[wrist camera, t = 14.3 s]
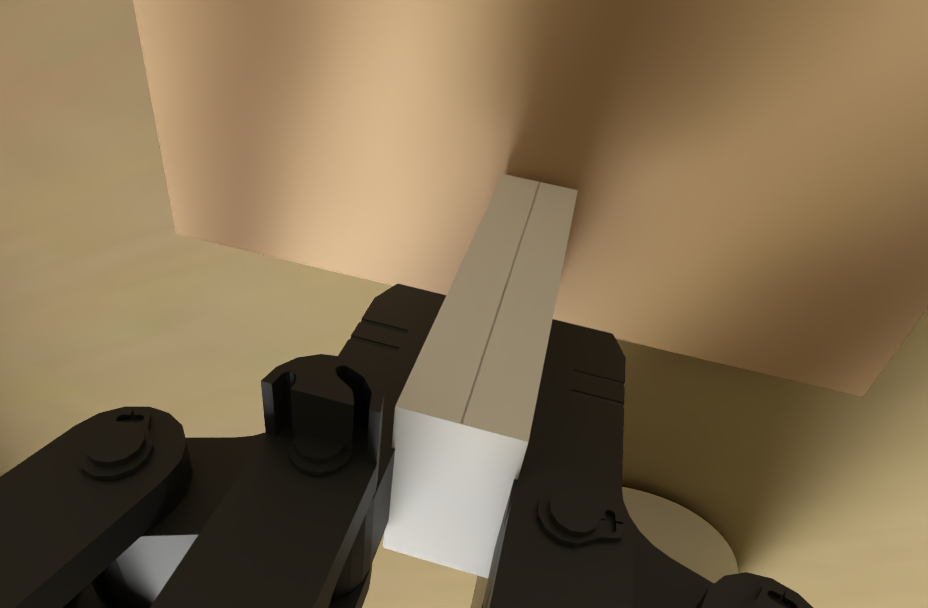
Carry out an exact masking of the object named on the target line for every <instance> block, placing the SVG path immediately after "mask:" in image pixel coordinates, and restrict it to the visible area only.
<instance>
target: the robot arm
mask: <svg viewBox="0 0 928 608" xmlns="http://www.w3.org/2000/svg"><path fill="white" fill-rule="evenodd" d="M577 192H578V190H575V189H570V188H565V187H561V186H556V185H552V184H547V183H542V182H538V181H533V180H529V179H524V178H520V177H515V176H510V175H506V174H502V176H501V178H500V181H499V183H498V185H497V187H496V189H495V191H494V194H493V196H492V198H491V200H490V202H489V204H488V207H487V209H486V211H485V213H484V215H483V217H482V219H481V222H480V224H479V226H478V228H477V230H476V232H475V235H474V237H473V239H472V241H471V243H470V245H469V248H468V250H467V252H466V254H465V256H464V258H463V261H462V263H461V265H460V267H459V269H458V271H457V274H456V276H455V278H454V280H453V282H452V284H451V287H450V289H449V291H448V293H447V295H443V294H439V293H435V292H431V291H427V290H423V289H419V288H415V287H410V286H406V285H402V284H396V285H395V286H393V287H391V288H390V289H388V290H387V291H385V292H383V293H382V294H380V295H379V296H377V297H375V298H374V300H373V301H372V303H371V305H370V306H369V308H368V309H367V311H366V313H365V314H364V316H363V317H362V321H361V323H360V322H359V324H358V325H357V327H356V328H355V330H354V332H353V333H352V335H351V339H350V340H348V341H347V343H346V344H345V346H344V347H343V349H342V351H341V352H340V354H339V355H338V356H332V355H324V354H320V355H312V356H305V357H298V358H296V359H293V360H291V361H289V362H286V363H284V364H282V365H280V366H277V367H276V368H275V369H274V370H272V371H271V372H270V373H269V374H268V375H267V376H266V377H265V378H264V379H262V380H261V387H262V397H263V408H264V419H265V429H266V433H262V434H258V435H255V436H247V437H236V438H185V434H184V431H183V427H182V425H181V424H180V423H179V422H178V421H177V420H176V419H175V418H174V417H173V416H172V415H171V414H169V413H167V412H164V411H161V410H158V409H155V408H151V407H122V408H118V409H114V410H110V411H106V412H102V413H99V414H97V415H95V416H93V417H91V418H89V419H87V420H85V421H83V422H81V423H79V424H77V425H75V426H74V427H72V428H71V429H70V430H68V431H67V432H65V433H64V434H62V435H61V436H59V437H58V438H56V439H55V440H54V441H52V442H51V443H49V444H48V445H46V446H45V447H43V448H42V449H40V450H39V451H37V452H36V453H35V454H33V455H32V456H30V457H29V458H27V459H26V460H24V461H23V462H21V463H20V464H18V465H17V466H16V467H14V468H13V469H11V470H10V471H8V472H7V473H5V474H4V475H2V476H1V477H0V608H362V606H363V603H364V600H365V598H366V595H367V592H368V590H369V584H370V578H371V572H372V562H373V559H374V557H375V554H376V552H377V549H378V546H379V544H380V541H381V539H382V536H383V534H384V541H383V548H386V549H389V550H393V551H396V552H400V553H403V554H406V555H410V556H413V557H417V558H420V559H423V560H427V561H430V562H434V563H437V564H440V565H444V566H447V567H451V568H454V569H457V570H461V571H464V572H468V573H471V574H474V575H478V576H481V577H484V578H488V581H487V586H486V590H485V595H484V600H483V604H482V607H481V608H813V607H812V606H811V605H810V604H809V603H808V602H807V601H805V600H804V599H803V598H802V597H801V596H800V595H799V594H798V593H796V592H794V591H793V590H791V589H789V588H787V587H786V586H784V585H782V584H780V583H779V582H777V581H775V580H773V579H771V578H767V577H763V576H759V575H755V574H751V573H747V572H746V573H739V574H732V575H725V576H723V577H722V578H721V579H719V580H718V581H717V582H716V583H712V582H711V581H709V580H707V579H706V578H704V577H702V576H701V575H699V574H697V573H696V572H694V571H692V570H691V569H689V568H687V567H685V566H684V565H682V564H680V563H679V562H677V561H675V560H674V559H672V558H670V557H669V556H668V555H666V554H665V553H663V552H662V551H661V550H659V549H658V548H657V547H655V546H654V545H653V544H652V543H651V542H650V541H649V540H648V539H647V538H646V537H645V536H644V535H643V534H642V533H641V532H640V531H639V529H638V528H637V526H636V525H635V523H634V522H633V520H632V519H631V517H630V516H629V513H628V511H627V508H626V506H625V503H624V501H623V492H622V459H623V425H624V408H623V405H624V391H625V387H624V383H625V356H624V354H623V352H622V350H621V348H620V346H619V344H618V343H617V341H616V339H615V337H614V335H613V334H612V333H608V332H604V331H600V330H596V329H592V328H588V327H584V326H580V325H575V324H571V323H567V322H563V321H559V320H555V319H553V314H554V309H555V304H556V299H557V294H558V289H559V284H560V279H561V274H562V269H563V263H564V258H565V253H566V248H567V243H568V238H569V233H570V228H571V223H572V218H573V213H574V207H575V202H576V197H577Z"/></svg>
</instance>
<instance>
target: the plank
mask: <svg viewBox="0 0 928 608" xmlns="http://www.w3.org/2000/svg"><path fill="white" fill-rule="evenodd" d="M133 4H134V9H135V14H136V20H137V25H138V31H139V36H140V42H141V47H142V52H143V58H144V63H145V69H146V74H147V79H148V85H149V90H150V96H151V101H152V106H153V112H154V117H155V123H156V128H157V134H158V139H159V144H160V150H161V155H162V161H163V166H164V171H165V177H166V182H167V188H168V193H169V199H170V204H171V209H172V215H173V220H174V226H175V231H176V234H178V235H183V236H187V237H191V238H195V239H199V240H204V241H208V242H212V243H216V244H220V245H225V246H229V247H233V248H237V249H241V250H246V251H250V252H254V253H258V254H262V255H267V256H271V257H275V258H279V259H283V260H288V261H292V262H296V263H300V264H304V265H309V266H313V267H317V268H321V269H325V270H330V271H334V272H338V273H342V274H346V275H351V276H355V277H359V278H363V279H367V280H372V281H376V282H380V283H384V284H388V285H393V286H395V285H396V284H402V285H406V286H410V287H415V288H419V289H423V290H427V291H431V292H435V293H439V294H443V295H447V293H448V291H449V289H450V287H451V284H452V282H453V280H454V278H455V276H456V274H457V271H458V269H459V267H460V265H461V263H462V261H463V258H464V256H465V254H466V252H467V250H468V248H469V245H470V243H471V241H472V239H473V237H474V235H475V232H476V230H477V228H478V226H479V224H480V222H481V219H482V217H483V215H484V213H485V211H486V209H487V207H488V204H489V202H490V200H491V198H492V196H493V194H494V191H495V189H496V187H497V185H498V183H499V181H500V178H501V176H502V174H506V175H510V176H515V177H520V178H524V179H529V180H533V181H538V182H542V183H547V184H552V185H556V186H561V187H565V188H570V189H575V190H578V192H577V197H576V202H575V207H574V213H573V218H572V223H571V228H570V233H569V238H568V243H567V248H566V253H565V258H564V263H563V269H562V274H561V279H560V284H559V289H558V294H557V299H556V304H555V309H554V314H553V319H555V320H559V321H563V322H567V323H571V324H575V325H580V326H584V327H588V328H592V329H596V330H600V331H604V332H608V333H612V334H613V335H614V337H615V339H620V340H624V341H628V342H632V343H636V344H641V345H645V346H649V347H653V348H657V349H662V350H666V351H670V352H674V353H678V354H683V355H687V356H691V357H695V358H699V359H704V360H708V361H712V362H716V363H720V364H725V365H729V366H733V367H737V368H741V369H746V370H750V371H754V372H758V373H762V374H767V375H771V376H775V377H779V378H783V379H788V380H792V381H796V382H800V383H804V384H809V385H813V386H817V387H821V388H825V389H830V390H834V391H838V392H842V393H846V394H851V395H855V396H859V397H863V396H864V395H865V393H866V392H867V391H868V389H869V388H870V386H871V385H872V384H873V382H874V381H875V380H876V378H877V377H878V376H879V374H880V373H881V371H882V370H883V369H884V367H885V366H886V365H887V363H888V362H889V361H890V359H891V358H892V356H893V355H894V354H895V352H896V351H897V350H898V348H899V347H900V345H901V344H902V343H903V341H904V340H905V339H906V337H907V336H908V335H909V333H910V332H911V330H912V329H913V328H914V326H915V325H916V324H917V322H918V321H919V320H920V318H921V317H922V315H923V314H924V313H925V311H926V310H927V309H928V0H133Z"/></svg>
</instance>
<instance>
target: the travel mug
mask: <svg viewBox="0 0 928 608" xmlns="http://www.w3.org/2000/svg"><path fill="white" fill-rule="evenodd" d="M622 492H623V501H624V503H625V506H626V508H627V511H628V513H629V516H630V517H631V519H632V520H633V522H634V523H635V525H636V526H637V528H638V529H639V531H640V532H641V533H642V534H643V535H644V536H645V537H646V538H647V539H648V540H649V541H650V542H651V543H652V544H653V545H654V546H655V547H657V548H658V549H659V550H661V551H662V552H663V553H665V554H666V555H668V556H669V557H670V558H672V559H674V560H675V561H677V562H679V563H680V564H682V565H684V566H685V567H687V568H689V569H691V570H692V571H694V572H696V573H697V574H699V575H701V576H702V577H704V578H706V579H707V580H709V581H711V582H712V583H716V582H717V581H718V580H719V579H721V578H722V577H723V576H725V575H732V574H739V571H738V566H737V561H736V559H735V556H734V553H733V552H732V550H731V548H730V546H729V545H728V543H727V542H726V540H725V539H724V538H723V537H722V536H721V535H720V533H719V532H718V531H717V530H716V529H715V528H713V527H712V526H711V525H710V524H709V523H708V522H706V521H705V520H704V519H702V518H701V517H700V516H698V515H696V514H695V513H693V512H692V511H690V510H688V509H686V508H684V507H682V506H680V505H679V504H677V503H674V502H672V501H669V500H667V499H665V498H662V497H659V496H656V495H653V494H650V493H647V492H643V491H640V490H635V489H630V488H626V487H622ZM487 581H488V578H484V577H481V576H477V581H476V585H475V590H474V594H473V599H472V603H471V608H481V607H482V604H483V600H484V595H485V590H486V586H487Z"/></svg>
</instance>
